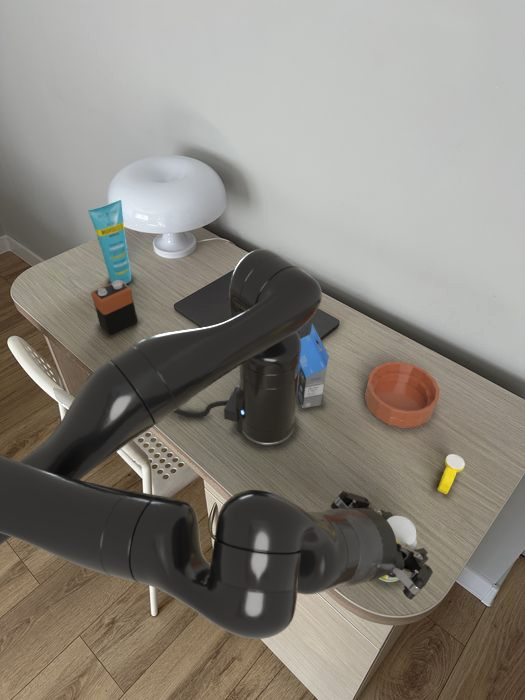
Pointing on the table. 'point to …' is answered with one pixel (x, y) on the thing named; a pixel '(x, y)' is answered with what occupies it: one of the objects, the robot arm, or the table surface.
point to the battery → (114, 307)
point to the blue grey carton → (311, 370)
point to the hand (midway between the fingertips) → (403, 537)
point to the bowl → (401, 394)
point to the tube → (112, 240)
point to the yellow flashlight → (450, 472)
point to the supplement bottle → (402, 536)
